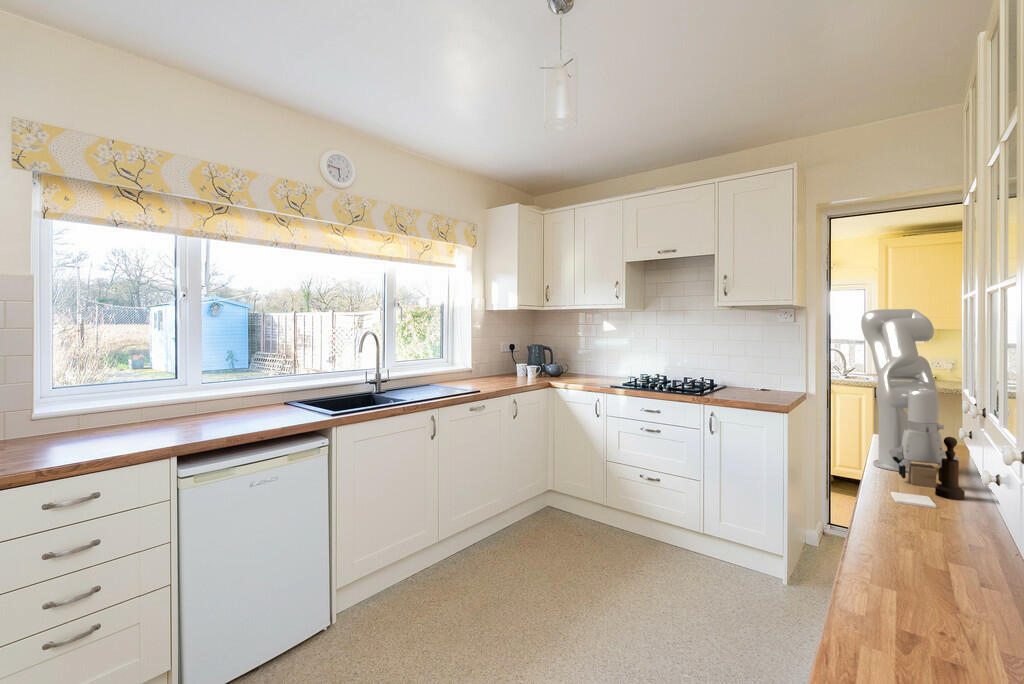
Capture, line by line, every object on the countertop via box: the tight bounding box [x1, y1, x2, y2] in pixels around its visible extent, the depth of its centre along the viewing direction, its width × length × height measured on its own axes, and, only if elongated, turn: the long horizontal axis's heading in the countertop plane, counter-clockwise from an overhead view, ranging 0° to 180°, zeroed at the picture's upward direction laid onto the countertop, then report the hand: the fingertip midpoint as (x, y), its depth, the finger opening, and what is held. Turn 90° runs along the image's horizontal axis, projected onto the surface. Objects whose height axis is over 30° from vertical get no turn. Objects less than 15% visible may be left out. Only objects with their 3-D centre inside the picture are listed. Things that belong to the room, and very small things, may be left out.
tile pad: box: [890, 491, 938, 509], centre depth 143 cm, size 9×9×1 cm
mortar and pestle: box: [934, 436, 966, 501], centre depth 146 cm, size 7×6×18 cm
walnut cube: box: [907, 462, 937, 489], centre depth 158 cm, size 6×6×6 cm
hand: (921, 479), depth 158 cm, fingers open, 9 cm apart
